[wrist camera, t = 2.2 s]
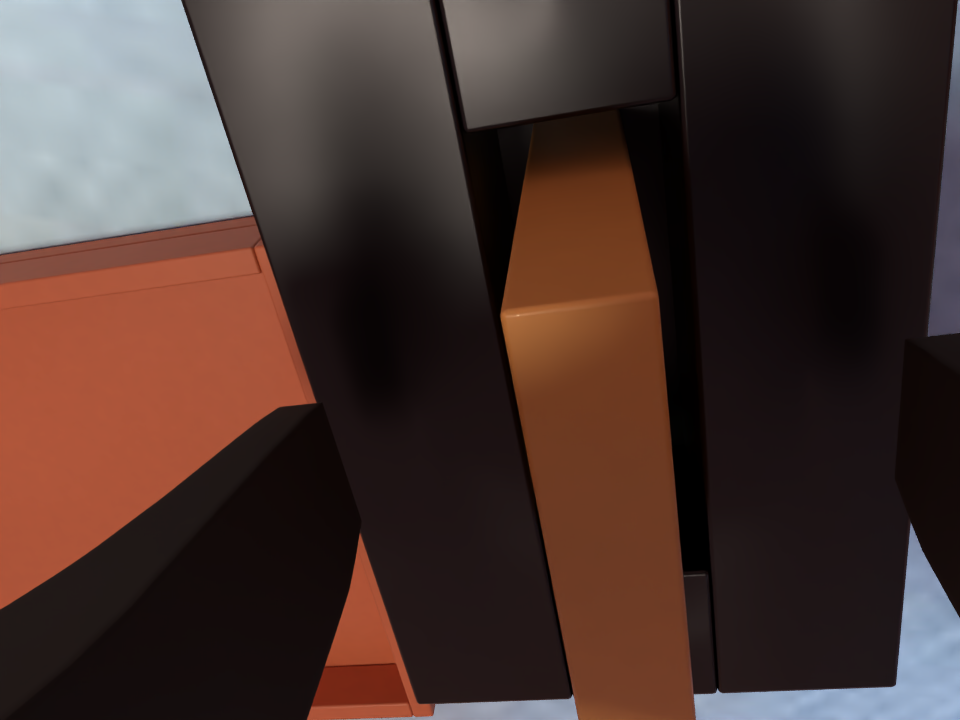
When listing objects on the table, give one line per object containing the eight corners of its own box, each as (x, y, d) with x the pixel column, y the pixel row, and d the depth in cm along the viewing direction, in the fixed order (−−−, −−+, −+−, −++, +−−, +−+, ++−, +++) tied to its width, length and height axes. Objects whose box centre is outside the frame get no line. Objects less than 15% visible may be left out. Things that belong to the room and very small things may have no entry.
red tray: (310, 206, 15) (280, 243, 13) (444, 655, 21) (433, 717, 19) (-341, 306, 18) (-430, 346, 16) (-63, 679, 23) (-108, 735, 22)
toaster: (857, -226, 11) (987, -280, 8) (833, 530, 17) (897, 689, 14) (266, -93, 12) (148, -87, 9) (445, 558, 19) (416, 706, 15)
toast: (619, 106, 13) (658, 292, 7) (650, 415, 16) (698, 739, 10) (532, 120, 13) (498, 312, 7) (578, 423, 16) (582, 742, 10)
